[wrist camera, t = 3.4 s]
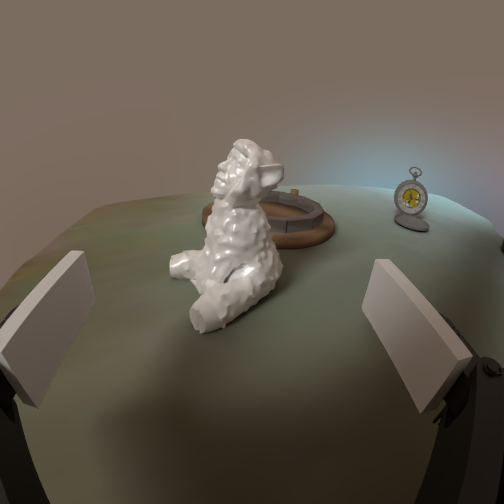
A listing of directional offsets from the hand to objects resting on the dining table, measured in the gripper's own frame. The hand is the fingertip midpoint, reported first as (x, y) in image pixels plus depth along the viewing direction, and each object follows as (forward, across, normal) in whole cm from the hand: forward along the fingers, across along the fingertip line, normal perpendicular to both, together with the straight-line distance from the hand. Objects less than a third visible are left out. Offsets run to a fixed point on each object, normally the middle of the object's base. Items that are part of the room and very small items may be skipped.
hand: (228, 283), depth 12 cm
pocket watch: (+30, +31, -7) cm, 44 cm away
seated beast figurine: (+10, 0, -7) cm, 12 cm away
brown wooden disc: (+27, +5, -6) cm, 28 cm away
